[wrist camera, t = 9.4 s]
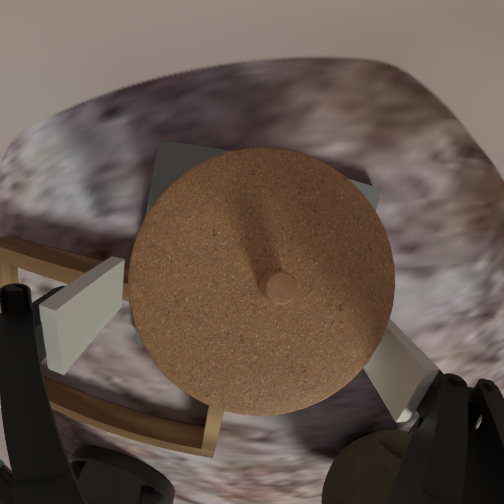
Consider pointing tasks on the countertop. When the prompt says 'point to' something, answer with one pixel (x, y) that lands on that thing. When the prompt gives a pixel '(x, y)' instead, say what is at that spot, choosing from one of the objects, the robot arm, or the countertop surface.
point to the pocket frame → (85, 406)
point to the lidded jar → (261, 281)
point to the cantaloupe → (366, 469)
